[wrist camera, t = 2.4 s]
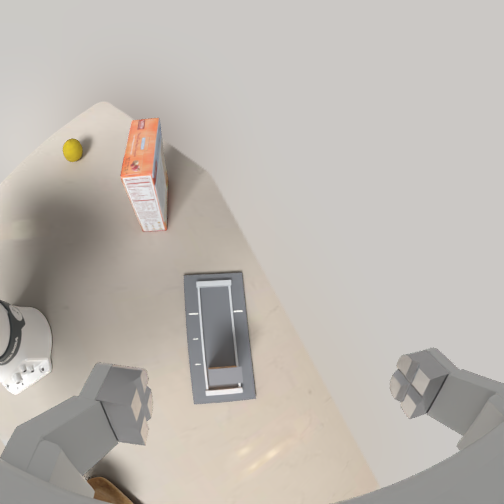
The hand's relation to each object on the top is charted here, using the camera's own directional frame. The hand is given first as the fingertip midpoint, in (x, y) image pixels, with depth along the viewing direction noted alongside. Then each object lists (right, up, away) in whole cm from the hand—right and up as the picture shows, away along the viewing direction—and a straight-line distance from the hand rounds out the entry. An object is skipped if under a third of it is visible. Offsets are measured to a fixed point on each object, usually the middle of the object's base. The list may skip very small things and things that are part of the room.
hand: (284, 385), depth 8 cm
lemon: (-49, +29, +55) cm, 80 cm away
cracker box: (-23, +15, +54) cm, 61 cm away
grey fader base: (-8, -13, +45) cm, 48 cm away
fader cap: (-7, -19, +43) cm, 48 cm away
